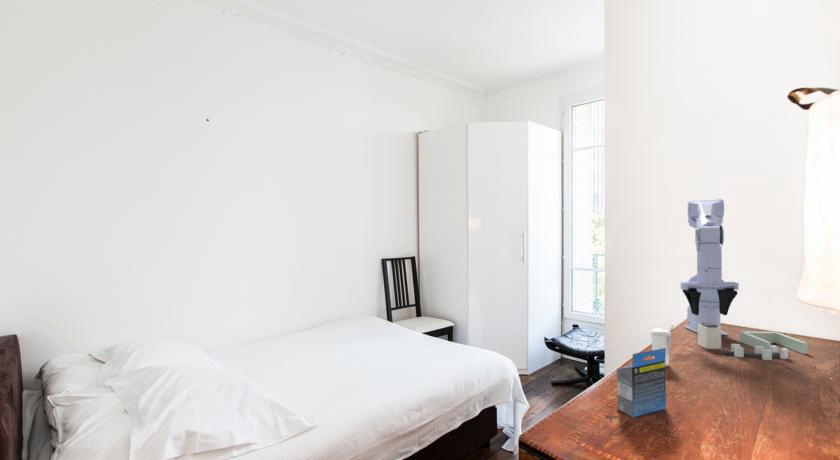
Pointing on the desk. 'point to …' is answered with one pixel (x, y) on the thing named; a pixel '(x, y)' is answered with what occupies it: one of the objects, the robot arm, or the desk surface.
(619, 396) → the label tape cartridge
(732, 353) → the cable
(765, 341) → the holder
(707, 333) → the block
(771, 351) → the clips
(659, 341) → the milkshake
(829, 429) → the desk surface
